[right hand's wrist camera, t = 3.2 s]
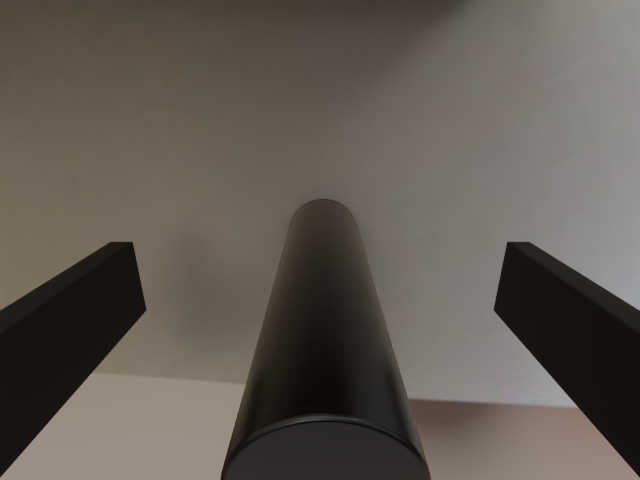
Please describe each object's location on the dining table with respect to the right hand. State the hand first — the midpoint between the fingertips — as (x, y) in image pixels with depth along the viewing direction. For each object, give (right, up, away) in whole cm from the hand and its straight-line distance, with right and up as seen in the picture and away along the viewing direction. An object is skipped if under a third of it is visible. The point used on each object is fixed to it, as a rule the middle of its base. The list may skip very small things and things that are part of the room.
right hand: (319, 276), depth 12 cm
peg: (0, +2, +4) cm, 4 cm away
